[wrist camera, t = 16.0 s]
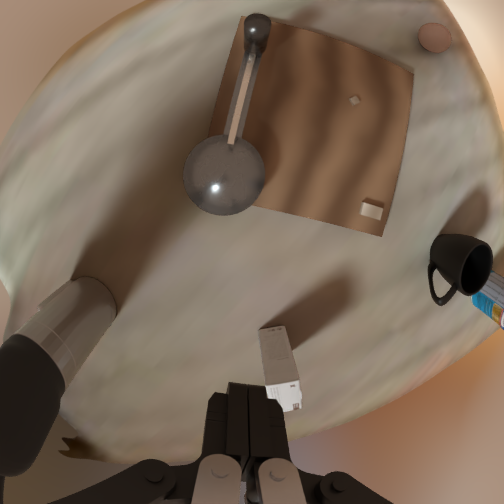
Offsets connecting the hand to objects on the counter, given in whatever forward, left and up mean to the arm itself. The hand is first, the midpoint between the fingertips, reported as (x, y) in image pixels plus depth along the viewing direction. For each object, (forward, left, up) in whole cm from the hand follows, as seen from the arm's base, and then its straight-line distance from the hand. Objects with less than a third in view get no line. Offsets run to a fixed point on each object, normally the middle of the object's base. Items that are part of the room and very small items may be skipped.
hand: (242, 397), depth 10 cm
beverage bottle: (+49, +1, -27) cm, 56 cm away
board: (+6, +17, -27) cm, 32 cm away
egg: (+21, +39, -27) cm, 52 cm away
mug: (+31, +4, -27) cm, 42 cm away
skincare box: (+8, -15, -27) cm, 32 cm away
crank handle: (-4, +14, -25) cm, 29 cm away
